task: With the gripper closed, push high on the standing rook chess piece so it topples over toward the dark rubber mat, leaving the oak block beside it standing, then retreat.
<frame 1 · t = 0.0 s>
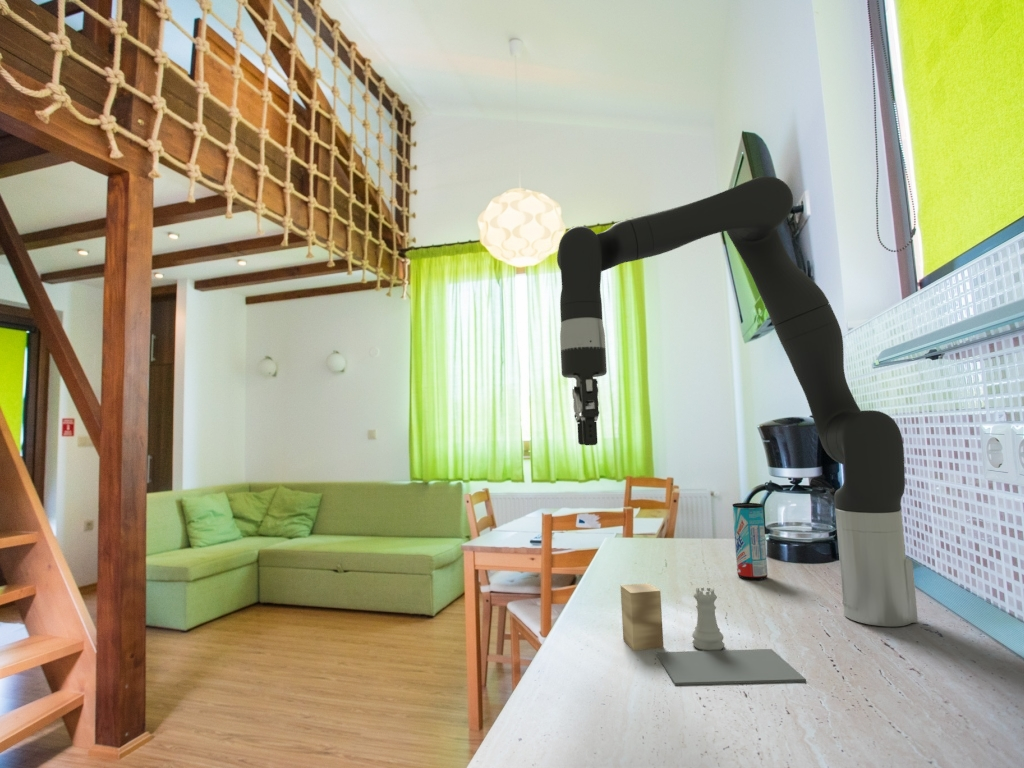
hand: (587, 444, 96), 29 cm above the worktop, fingers open, 8 cm apart
beverage can: (752, 578, 121), on the worktop
oak block: (642, 643, 86), on the worktop
rook chess piece: (708, 648, 84), on the worktop
mat: (726, 667, 76), on the worktop
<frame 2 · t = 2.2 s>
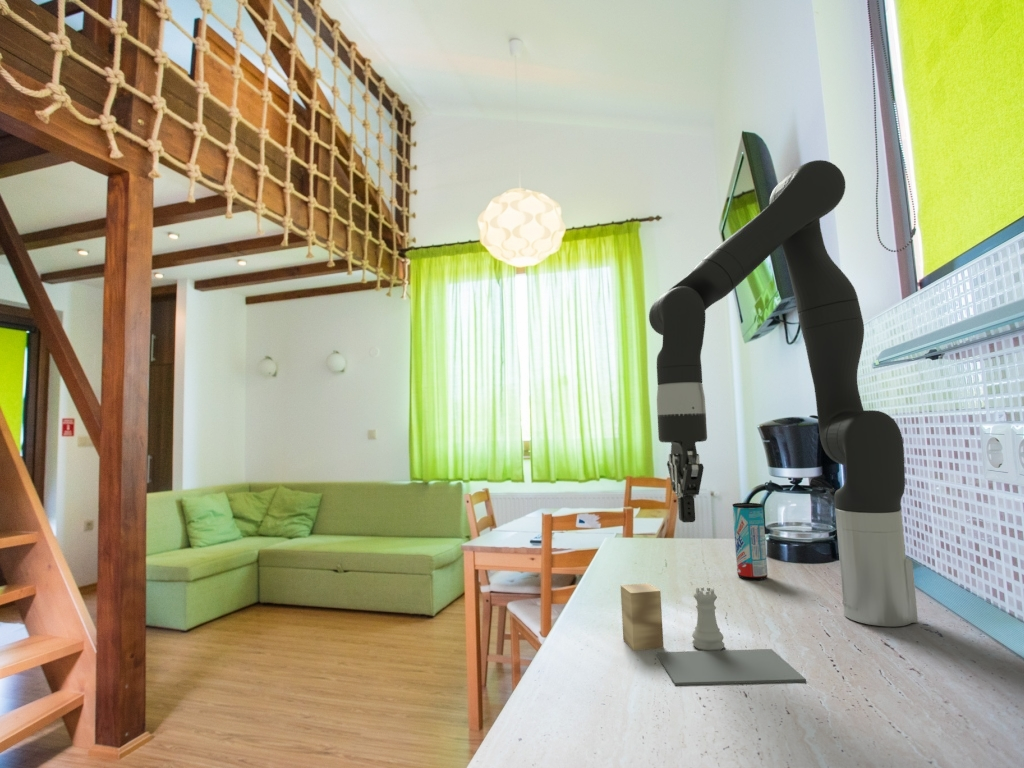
hand: (687, 521, 92), 17 cm above the worktop, fingers closed
nothing on the worktop moved.
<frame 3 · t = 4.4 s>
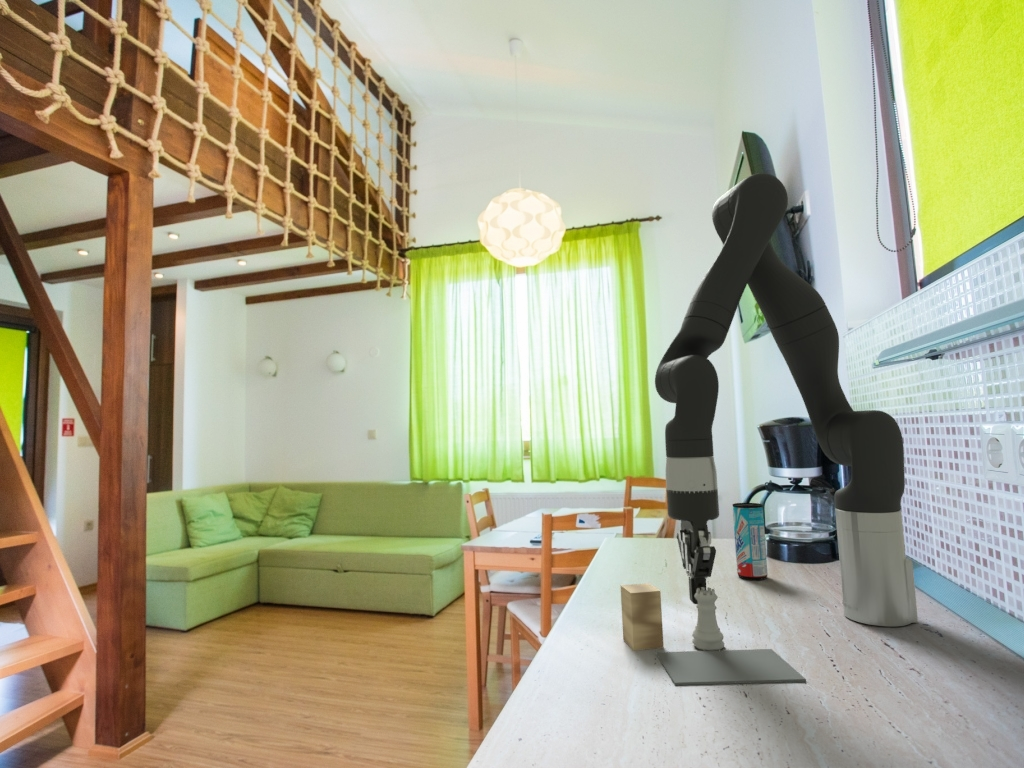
hand: (698, 602, 87), 5 cm above the worktop, fingers closed
rook chess piece: (708, 647, 84), on the worktop, touching gripper
everything else where it was.
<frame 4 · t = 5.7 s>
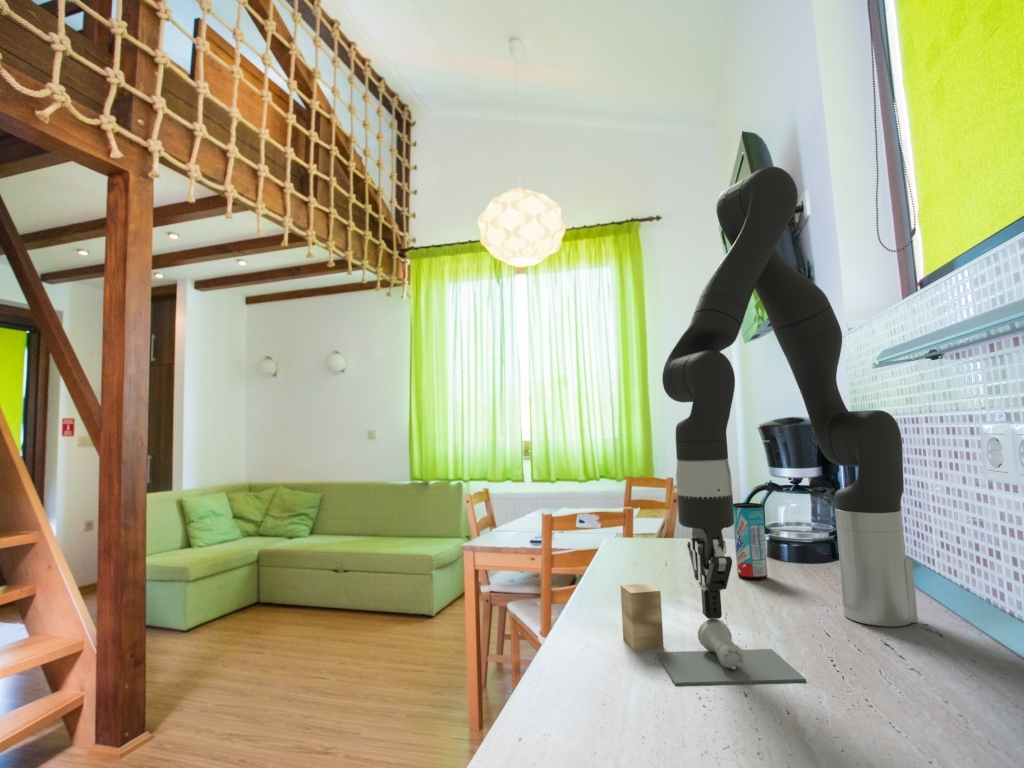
hand: (712, 616, 81), 5 cm above the worktop, fingers closed
rook chess piece: (712, 632, 82), point 3 cm above the worktop, touching mat
everything else where it was.
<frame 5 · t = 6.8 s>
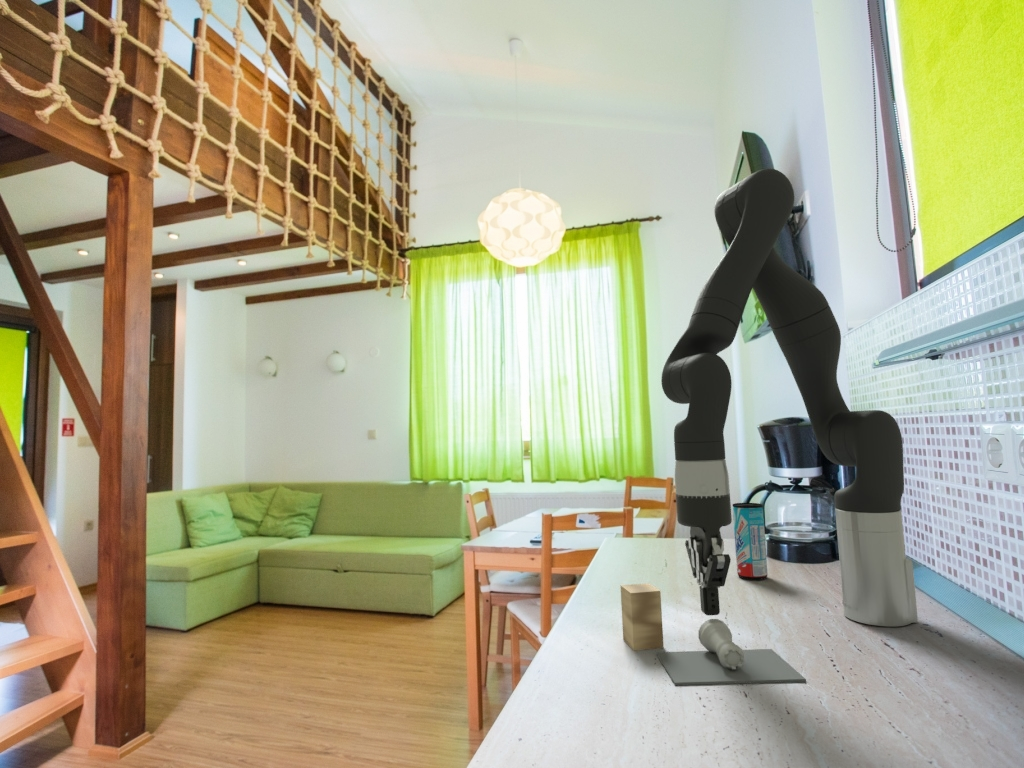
hand: (710, 613, 83), 5 cm above the worktop, fingers closed
nothing on the worktop moved.
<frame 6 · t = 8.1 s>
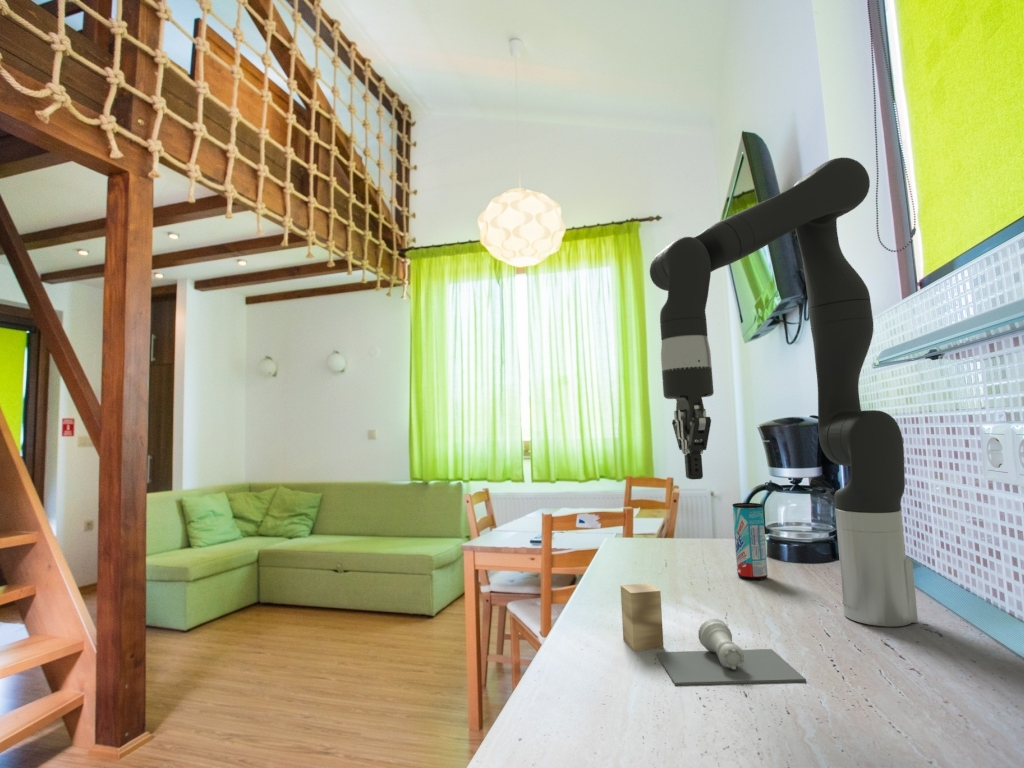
hand: (694, 478, 90), 24 cm above the worktop, fingers closed
nothing on the worktop moved.
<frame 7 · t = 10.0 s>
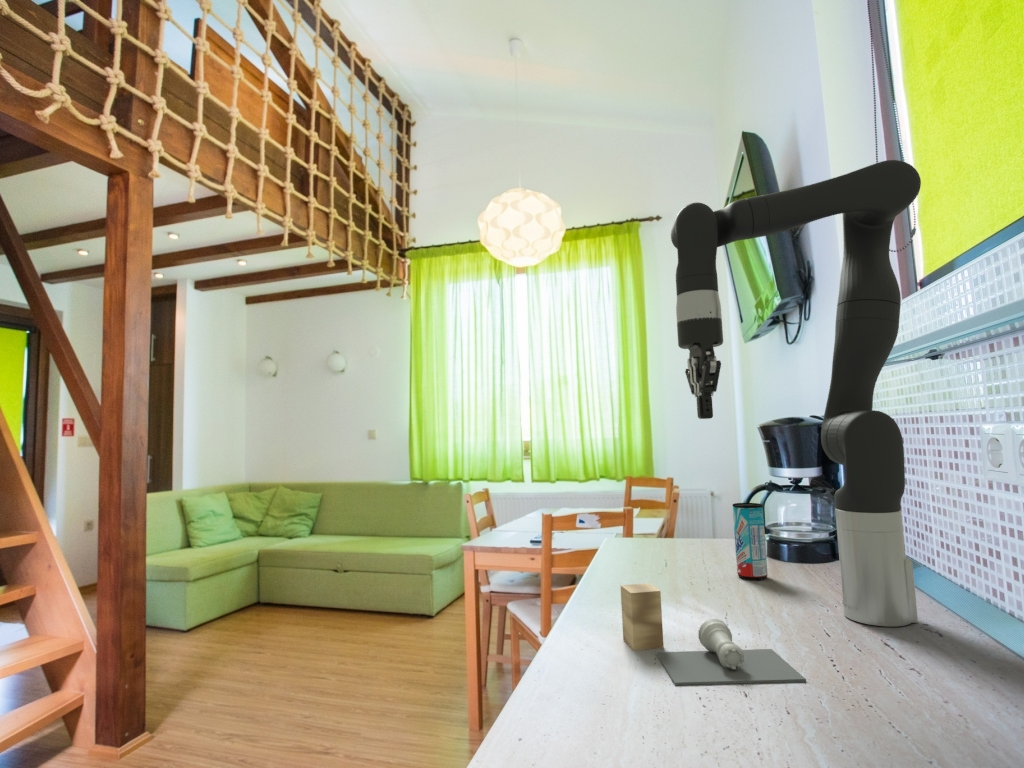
hand: (705, 418, 100), 33 cm above the worktop, fingers closed
nothing on the worktop moved.
at the end: rook chess piece tilted 95°; rook chess piece inside the target area (3.0 cm from its centre), point 2.6 cm above the worktop; oak block tilted 0° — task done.
